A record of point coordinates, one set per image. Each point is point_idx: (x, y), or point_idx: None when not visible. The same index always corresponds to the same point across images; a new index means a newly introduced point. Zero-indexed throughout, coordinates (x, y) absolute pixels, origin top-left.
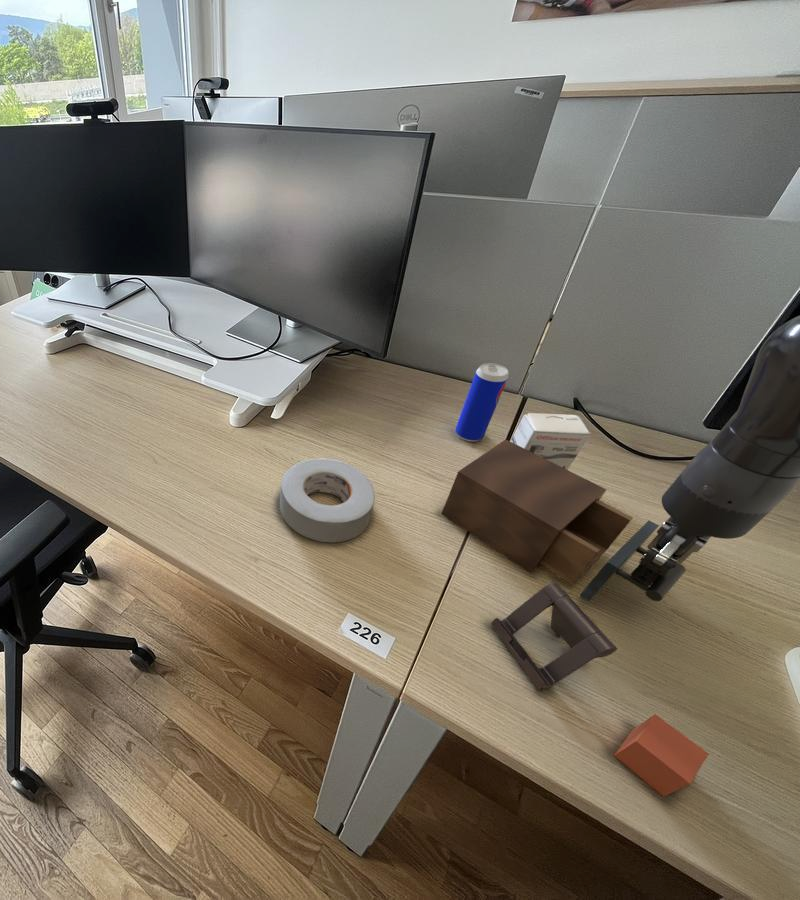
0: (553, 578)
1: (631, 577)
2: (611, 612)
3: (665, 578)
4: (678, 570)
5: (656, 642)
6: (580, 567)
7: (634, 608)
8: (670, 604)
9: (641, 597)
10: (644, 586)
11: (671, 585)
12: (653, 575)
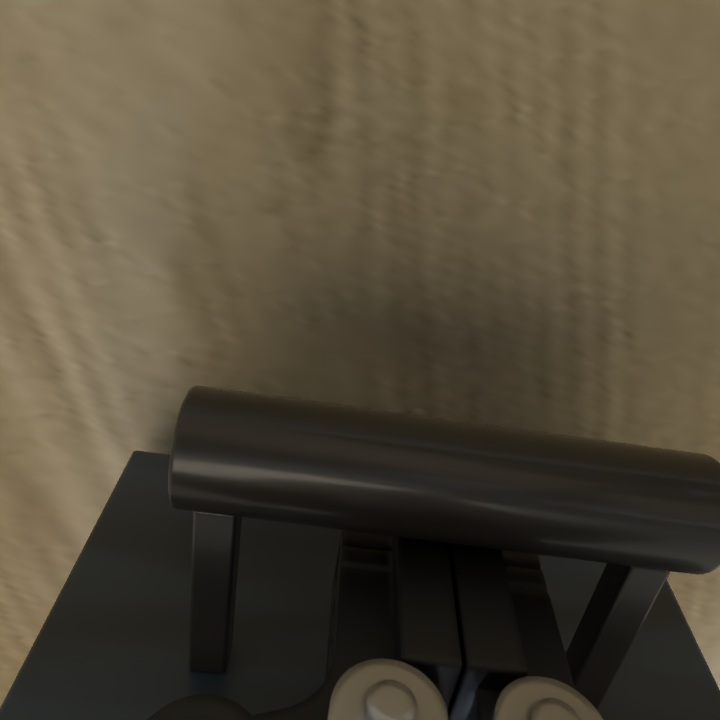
0: None
1: (607, 655)
2: (582, 392)
3: (488, 541)
4: (275, 483)
5: (671, 166)
6: None
7: (464, 316)
8: (266, 170)
9: (341, 307)
10: (659, 589)
11: (514, 471)
12: (559, 634)
